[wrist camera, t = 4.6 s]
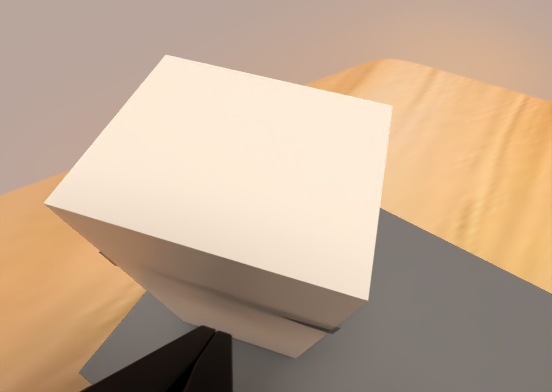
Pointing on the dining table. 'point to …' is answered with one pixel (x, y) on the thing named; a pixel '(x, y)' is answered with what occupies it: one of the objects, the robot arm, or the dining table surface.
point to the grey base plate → (388, 329)
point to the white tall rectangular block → (237, 200)
